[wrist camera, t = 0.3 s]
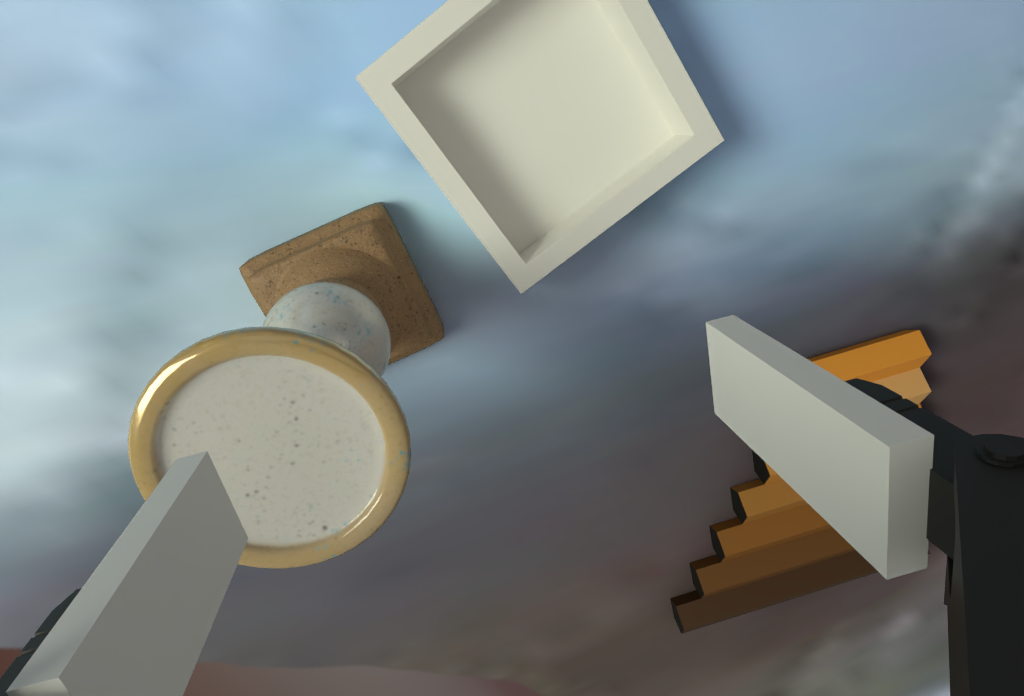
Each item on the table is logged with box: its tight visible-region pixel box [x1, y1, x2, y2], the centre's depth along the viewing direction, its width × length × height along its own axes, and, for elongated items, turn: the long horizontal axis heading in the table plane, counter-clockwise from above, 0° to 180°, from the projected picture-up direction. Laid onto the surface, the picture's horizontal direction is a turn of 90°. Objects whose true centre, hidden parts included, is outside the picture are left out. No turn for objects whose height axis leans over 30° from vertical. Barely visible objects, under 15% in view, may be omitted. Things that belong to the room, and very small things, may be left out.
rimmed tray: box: [355, 0, 724, 294], centre depth 40 cm, size 17×17×4 cm
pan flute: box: [670, 330, 931, 634], centre depth 55 cm, size 25×3×25 cm
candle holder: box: [128, 202, 444, 568], centre depth 34 cm, size 11×11×24 cm
